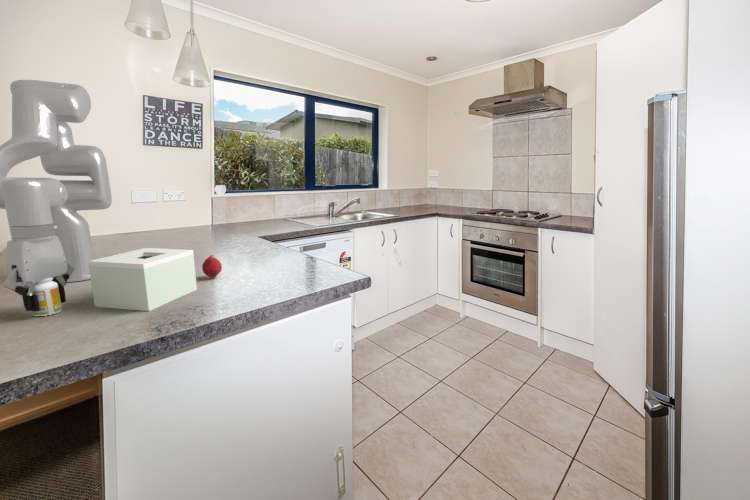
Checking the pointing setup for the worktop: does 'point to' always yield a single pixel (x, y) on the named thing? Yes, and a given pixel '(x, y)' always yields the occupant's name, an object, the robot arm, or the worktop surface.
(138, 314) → the worktop surface
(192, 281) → the caddy
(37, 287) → the supplement bottle
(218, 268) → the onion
